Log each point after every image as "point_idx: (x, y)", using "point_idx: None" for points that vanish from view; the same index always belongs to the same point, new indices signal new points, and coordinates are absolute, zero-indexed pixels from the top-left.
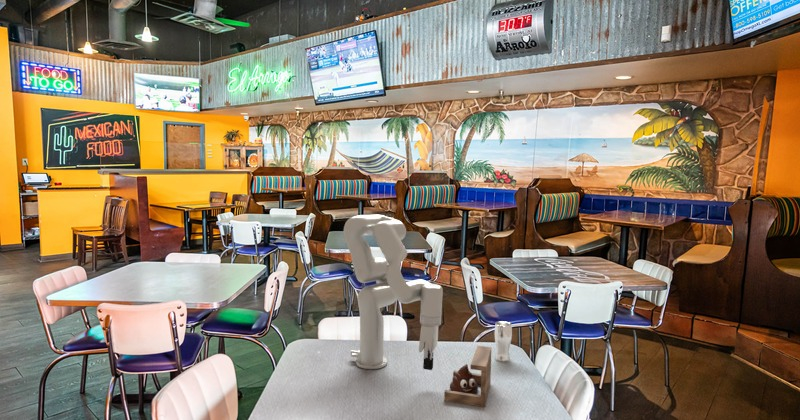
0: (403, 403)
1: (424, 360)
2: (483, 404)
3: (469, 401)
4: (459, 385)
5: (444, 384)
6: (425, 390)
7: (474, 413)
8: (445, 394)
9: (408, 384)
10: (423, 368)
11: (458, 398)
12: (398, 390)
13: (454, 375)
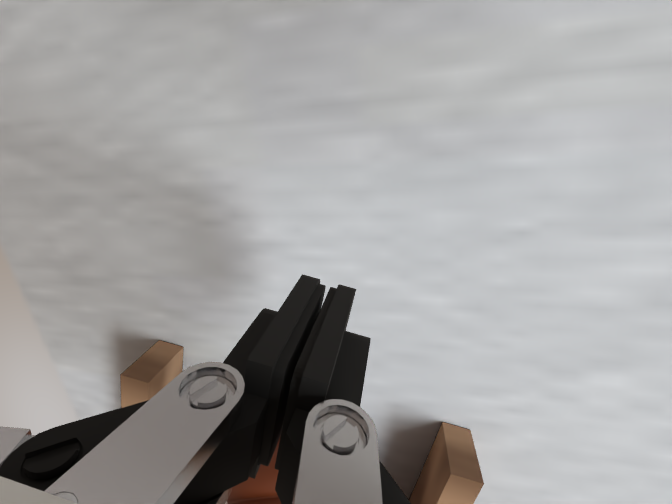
0: (41, 83)
1: (263, 345)
2: None
3: None
4: None
5: (371, 364)
6: (261, 237)
7: None
8: (132, 369)
9: (342, 94)
10: (303, 275)
11: None
12: (217, 9)
13: (445, 457)
